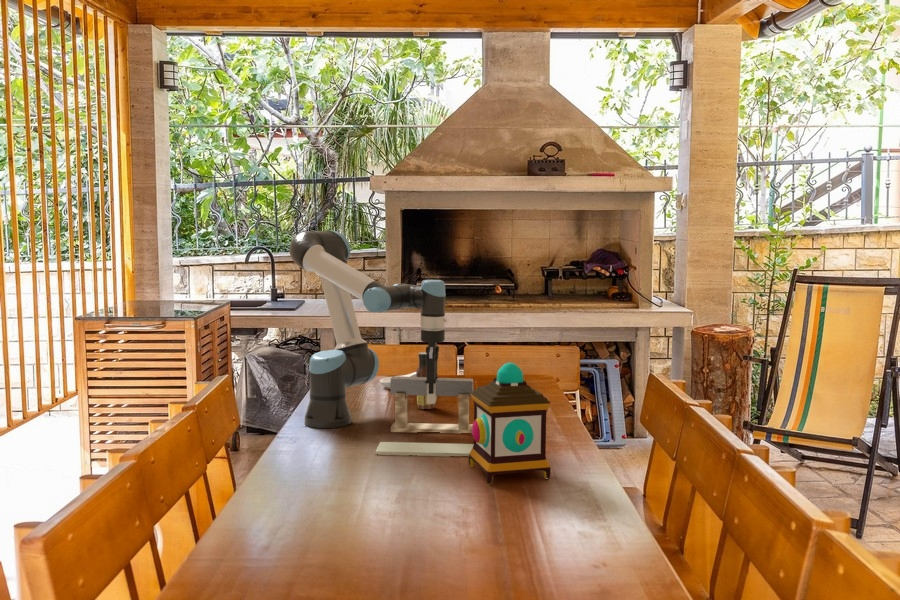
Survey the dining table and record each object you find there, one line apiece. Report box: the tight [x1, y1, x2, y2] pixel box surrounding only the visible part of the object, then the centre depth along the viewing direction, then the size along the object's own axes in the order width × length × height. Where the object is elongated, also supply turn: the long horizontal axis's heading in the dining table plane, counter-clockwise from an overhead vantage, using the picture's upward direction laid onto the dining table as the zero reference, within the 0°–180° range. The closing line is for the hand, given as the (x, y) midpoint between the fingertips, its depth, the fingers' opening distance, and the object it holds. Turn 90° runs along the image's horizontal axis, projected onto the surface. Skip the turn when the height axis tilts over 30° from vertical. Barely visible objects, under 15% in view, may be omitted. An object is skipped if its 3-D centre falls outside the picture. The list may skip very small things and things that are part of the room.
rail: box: [389, 375, 474, 398], centre depth 270 cm, size 26×4×5 cm, turn 86°
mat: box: [374, 441, 474, 457], centre depth 247 cm, size 28×10×1 cm, turn 86°
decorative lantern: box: [468, 361, 551, 486], centre depth 225 cm, size 20×20×30 cm
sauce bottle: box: [415, 351, 435, 410], centre depth 300 cm, size 7×6×20 cm
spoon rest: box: [379, 371, 416, 389], centre depth 335 cm, size 24×12×7 cm, turn 86°
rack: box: [390, 393, 473, 434], centre depth 270 cm, size 26×7×12 cm, turn 86°
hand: (431, 401), depth 270 cm, fingers closed on rail, 4 cm apart
